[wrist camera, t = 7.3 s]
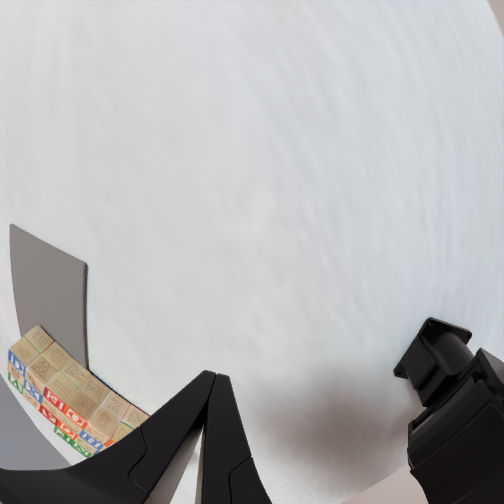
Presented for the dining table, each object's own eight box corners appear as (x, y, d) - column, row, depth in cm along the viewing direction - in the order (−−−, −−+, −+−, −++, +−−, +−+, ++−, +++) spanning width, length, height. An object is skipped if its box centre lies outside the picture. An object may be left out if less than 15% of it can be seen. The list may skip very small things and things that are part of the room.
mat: (86, 262, 23) (83, 264, 23) (92, 409, 31) (91, 411, 30) (12, 223, 23) (9, 224, 23) (30, 367, 31) (29, 368, 31)
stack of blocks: (38, 321, 26) (29, 365, 30) (7, 347, 20) (6, 388, 24) (173, 430, 29) (137, 452, 33) (158, 468, 23) (124, 481, 27)
